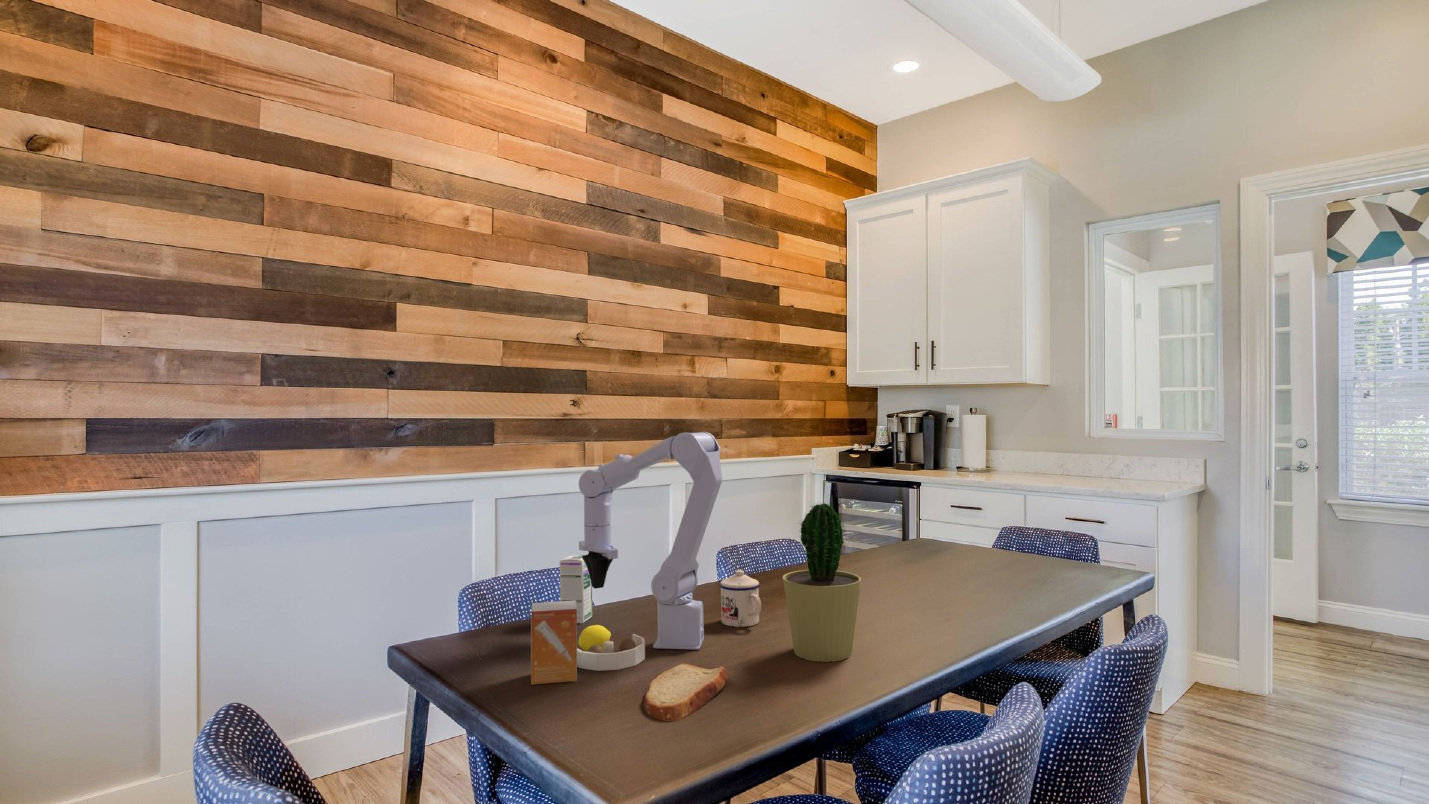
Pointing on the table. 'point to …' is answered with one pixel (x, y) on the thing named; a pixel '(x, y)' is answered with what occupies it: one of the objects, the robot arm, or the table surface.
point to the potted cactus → (822, 592)
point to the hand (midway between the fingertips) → (598, 587)
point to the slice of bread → (683, 691)
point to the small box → (553, 642)
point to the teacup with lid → (740, 600)
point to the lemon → (593, 637)
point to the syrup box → (576, 586)
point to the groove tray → (612, 656)
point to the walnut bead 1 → (596, 649)
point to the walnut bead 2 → (626, 644)
